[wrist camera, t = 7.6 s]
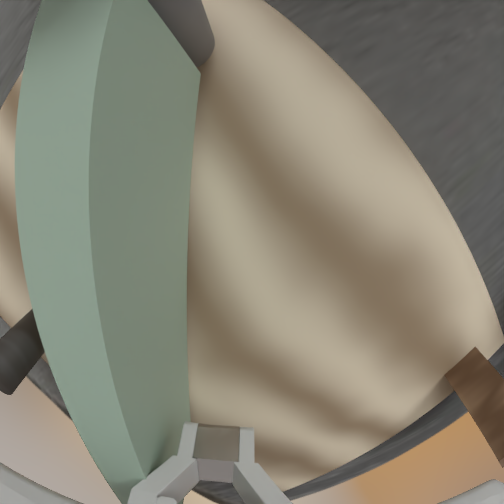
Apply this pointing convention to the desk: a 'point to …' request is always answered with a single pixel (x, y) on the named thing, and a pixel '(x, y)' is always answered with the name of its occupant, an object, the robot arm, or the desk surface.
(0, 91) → the desk surface
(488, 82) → the desk surface
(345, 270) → the gate frame
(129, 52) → the gate
